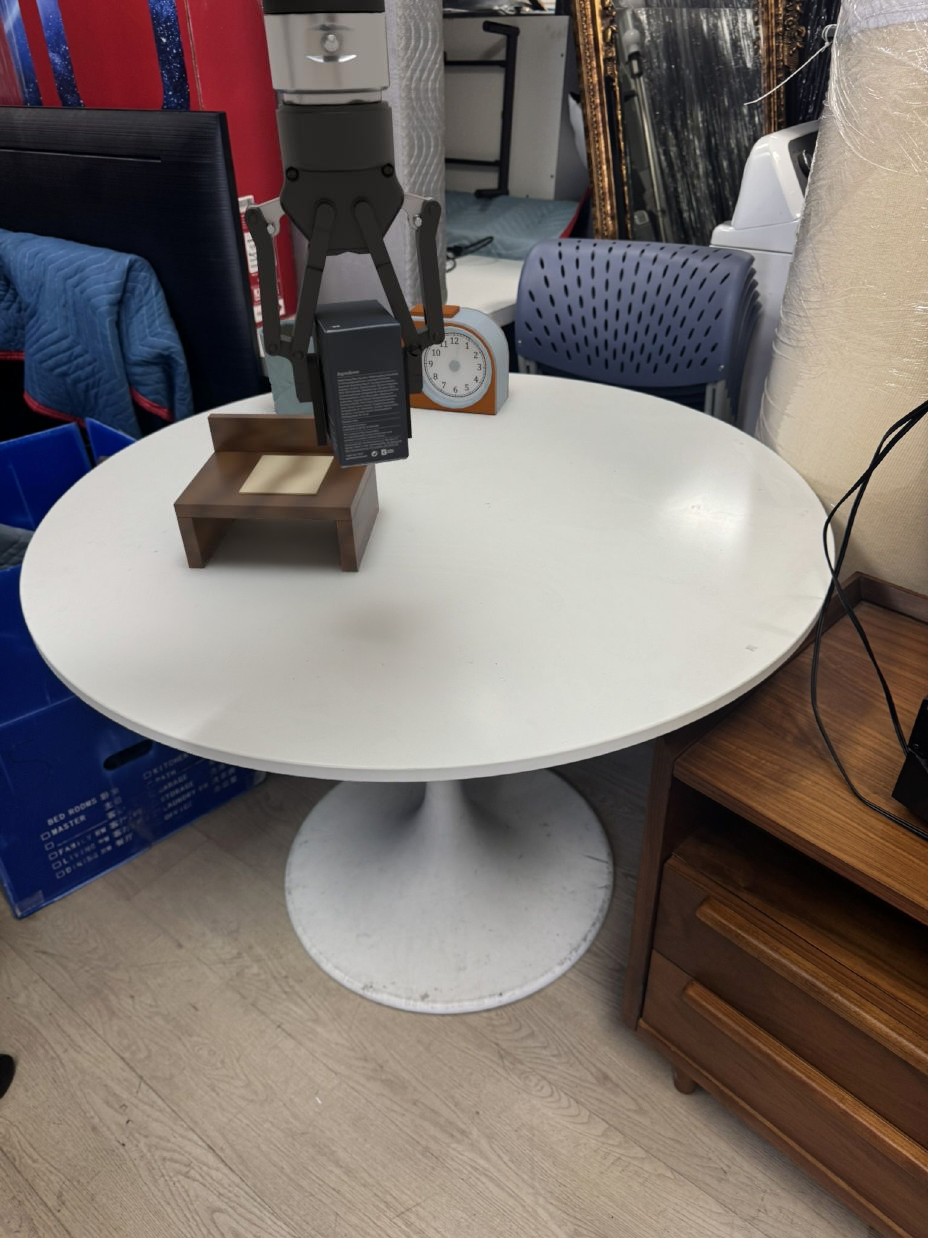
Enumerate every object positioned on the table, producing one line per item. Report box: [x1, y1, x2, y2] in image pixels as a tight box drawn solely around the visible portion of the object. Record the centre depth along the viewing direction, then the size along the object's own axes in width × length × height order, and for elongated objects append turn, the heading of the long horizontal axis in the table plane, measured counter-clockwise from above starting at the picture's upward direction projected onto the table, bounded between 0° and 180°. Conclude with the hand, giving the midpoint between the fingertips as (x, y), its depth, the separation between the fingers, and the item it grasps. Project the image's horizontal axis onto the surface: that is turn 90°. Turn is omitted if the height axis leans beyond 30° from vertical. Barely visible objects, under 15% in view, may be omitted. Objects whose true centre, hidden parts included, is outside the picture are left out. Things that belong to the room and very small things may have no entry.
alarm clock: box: [401, 302, 510, 416], centre depth 120 cm, size 15×8×14 cm, turn 74°
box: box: [312, 298, 410, 468], centre depth 64 cm, size 8×6×11 cm
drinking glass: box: [258, 318, 314, 415], centre depth 119 cm, size 10×10×12 cm
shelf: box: [173, 413, 380, 573], centre depth 88 cm, size 18×14×12 cm
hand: (364, 435), depth 66 cm, fingers closed on box, 6 cm apart
